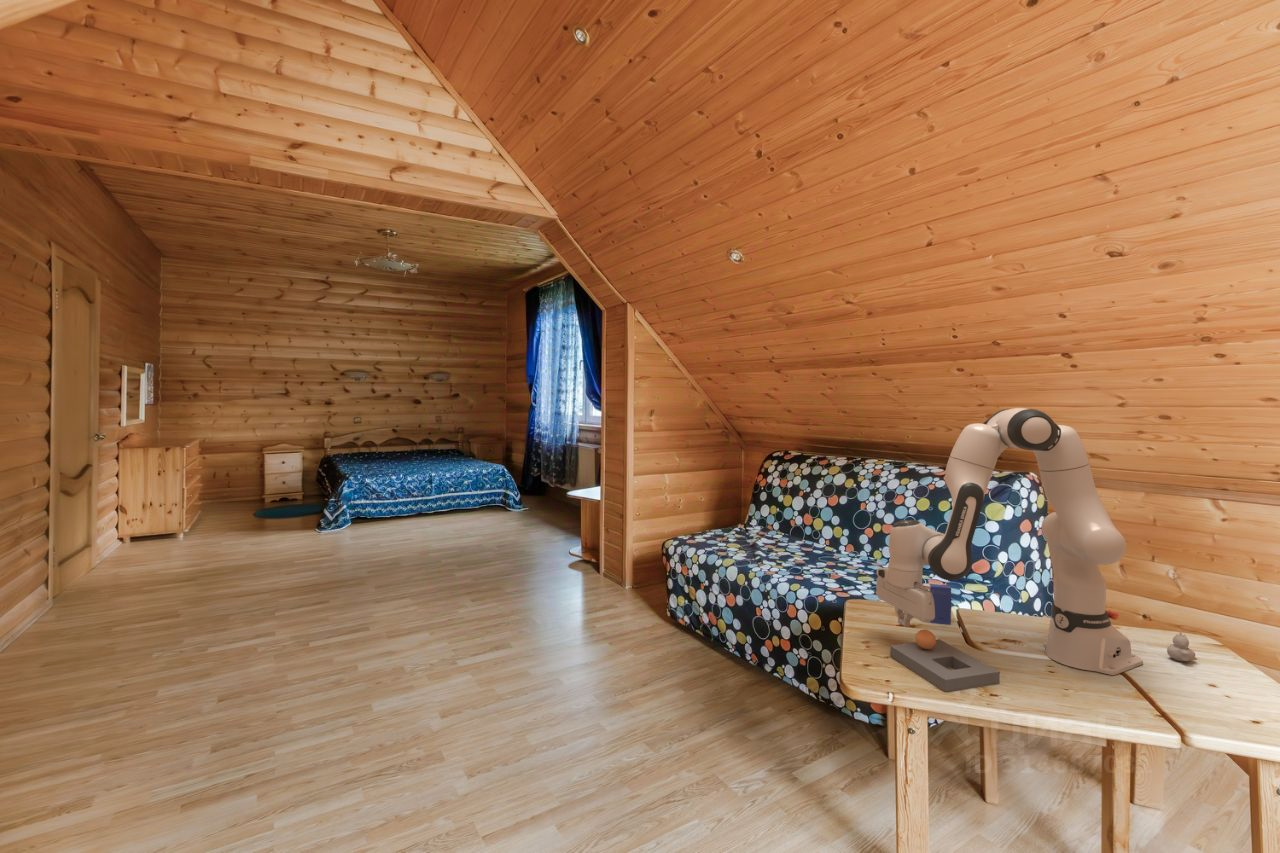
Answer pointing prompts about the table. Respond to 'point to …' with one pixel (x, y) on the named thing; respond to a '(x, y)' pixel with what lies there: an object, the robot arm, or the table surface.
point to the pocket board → (945, 666)
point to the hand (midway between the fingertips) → (903, 625)
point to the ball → (925, 639)
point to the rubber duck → (1180, 649)
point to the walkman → (941, 603)
